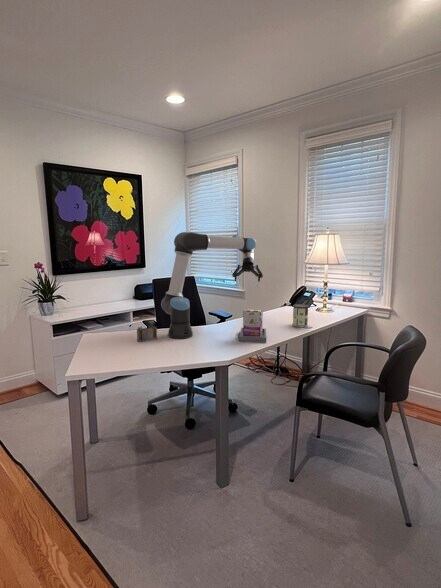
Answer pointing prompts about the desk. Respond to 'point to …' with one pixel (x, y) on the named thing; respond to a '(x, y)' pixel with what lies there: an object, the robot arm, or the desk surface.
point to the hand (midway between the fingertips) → (247, 285)
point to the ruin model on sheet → (146, 334)
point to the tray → (252, 337)
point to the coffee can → (300, 315)
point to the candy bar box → (252, 322)
